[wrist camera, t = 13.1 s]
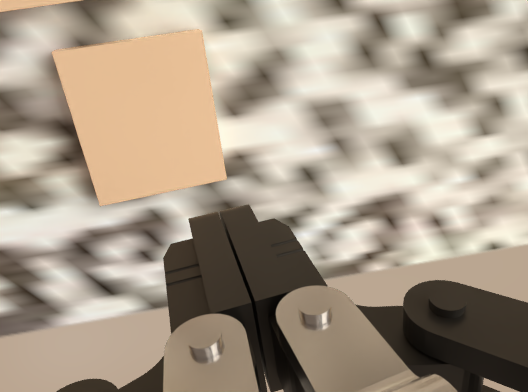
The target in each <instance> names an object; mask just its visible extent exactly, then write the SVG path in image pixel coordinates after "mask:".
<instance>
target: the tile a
mask: <svg viewBox="0 0 528 392" xmlns="http://www.w3.org/2000/svg"><path fill="white" fill-rule="evenodd" d="M75 1H82V0H0V12H5V11H12V10H19V9H26V8H33V7H40V6H47V5H54V4H61V3H68V2H75Z"/></svg>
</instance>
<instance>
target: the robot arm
mask: <svg viewBox="0 0 528 392" xmlns="http://www.w3.org/2000/svg"><path fill="white" fill-rule="evenodd" d="M220 218H221V219H220ZM189 223H190V228H191V232H192V236H193V239H189V240H185V241H181V242H177V243H173V244H171V245H170V247H169V249H168V250H167V252H166V254H165V256H164V258H163V259H164V269H165V278H166V286H167V287H166V288H167V298H168V307H169V316H170V326H171V336H170V337H169V339H168V340H167V343H166V345H165V350H164V356H163V357H162V359H161V360H160V361H159V362H158V363H157V364H156V365H155V366H154V367H153V368H152V369H151V370H149V371H148V372H147V373H145V374H144V375H142V376H141V377H139V378H137V379H136V380H134V381H132V382H130V383H129V384H127V385H125V386H123V387H122V388H120V389H117V387H116V386H115V385H113V384H112V383H111V382H108V381H106V380H102V379H87V380H82V381H78V382H75V383H72V384H70V385H67V386H65V387H64V388H62V389H60V390H58V391H57V392H267V387H266V382H265V377H266V379H267V383H268V386H269V389H270V391H271V392H275V391H278V390H281V389H283V390H284V392H500V391H497V390H495V389H492V388H490V387H487V386H485V385H483V380H484V378H486V379H489V380H492V381H494V382H497V383H499V384H502V385H504V386H507V387H509V388H512V389H514V390H517V391H520V392H528V303H526V302H523V301H519V300H516V299H512V298H509V297H506V296H502V295H499V294H495V293H492V292H488V291H484V290H481V289H478V288H474V287H471V286H467V285H463V284H460V283H456V282H452V281H445V280H442V281H441V280H435V281H427V282H423V283H420V284H418V285H415V286H414V287H412V288H411V289H410V290H409V291H408V292H407V293H406V295H405V297H404V303H403V306H388V307H387V306H386V307H366V306H359V305H355V304H354V303H353V301H352V300H351V299H350V298H349V297H348V296H347V295H346V294H344V293H343V292H341V291H339V290H337V289H335V288H331V287H328V286H327V285H326V283H325V281H324V280H323V278H322V277H321V275H320V274H319V272H318V271H317V269H316V268H315V266H314V265H313V263H312V262H311V260H310V258H309V257H308V255H307V254H306V252H305V251H303V248H302V246H301V245H300V243H299V242H298V241H297V239H296V237H295V235H294V234H293V232H292V231H291V229H290V228H289V226H287V225H285V224H283V223H281V222H280V221H278V220H276V219H270V220H266V221H262V222H258V220H257V219H256V217H255V215H254V213H253V211H252V209H251V207H250V206H249V205H244V206H240V207H235V208H231V209H227V210H223V211H220V217H219V214H218V212H215V213H211V214H206V215H202V216H198V217H194V218H189ZM264 374H265V376H264Z"/></svg>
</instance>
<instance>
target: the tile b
mask: <svg viewBox="0 0 528 392" xmlns="http://www.w3.org/2000/svg"><path fill="white" fill-rule="evenodd" d="M52 55H53V58H54V61H55V64H56V68H57V71H58V74H59V77H60V80H61V83H62V87H63V90H64V93H65V96H66V99H67V103H68V106H69V109H70V112H71V115H72V118H73V122H74V125H75V128H76V131H77V134H78V138H79V141H80V144H81V147H82V150H83V153H84V157H85V160H86V163H87V166H88V169H89V172H90V176H91V179H92V182H93V185H94V188H95V192H96V195H97V198H98V201H99V204H100V206H104V205H108V204H113V203H118V202H122V201H127V200H132V199H137V198H141V197H146V196H151V195H155V194H160V193H165V192H169V191H174V190H179V189H184V188H188V187H193V186H198V185H202V184H207V183H212V182H216V181H221V180H226V179H227V178H226V172H225V166H224V160H223V154H222V148H221V142H220V136H219V130H218V124H217V118H216V112H215V106H214V100H213V94H212V88H211V82H210V76H209V70H208V64H207V58H206V52H205V46H204V40H203V34H202V30H200V29H196V30H189V31H182V32H175V33H168V34H161V35H154V36H147V37H141V38H134V39H127V40H120V41H113V42H106V43H99V44H92V45H85V46H78V47H71V48H64V49H57V50H55V51H53V52H52Z"/></svg>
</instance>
